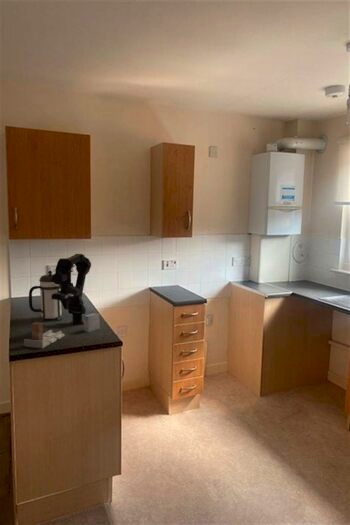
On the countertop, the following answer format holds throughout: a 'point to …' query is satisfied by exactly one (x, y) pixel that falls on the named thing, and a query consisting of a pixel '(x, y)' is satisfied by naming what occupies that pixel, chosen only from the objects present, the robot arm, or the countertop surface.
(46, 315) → the coffee press
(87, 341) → the countertop surface
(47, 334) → the track
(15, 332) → the countertop surface
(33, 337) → the slider
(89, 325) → the medicine box
